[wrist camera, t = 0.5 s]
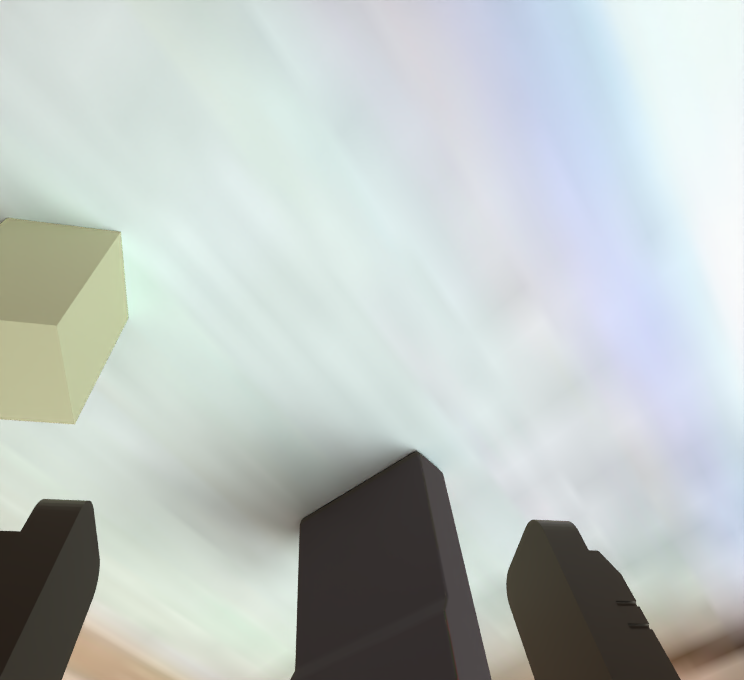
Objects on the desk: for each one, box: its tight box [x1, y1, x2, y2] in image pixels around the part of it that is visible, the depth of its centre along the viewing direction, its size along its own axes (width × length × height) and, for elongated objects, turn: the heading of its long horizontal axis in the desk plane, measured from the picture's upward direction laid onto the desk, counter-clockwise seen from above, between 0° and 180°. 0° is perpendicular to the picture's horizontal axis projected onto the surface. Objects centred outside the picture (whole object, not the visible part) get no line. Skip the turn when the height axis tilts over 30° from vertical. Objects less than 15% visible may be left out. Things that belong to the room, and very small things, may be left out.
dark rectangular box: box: [290, 452, 491, 680], centre depth 33 cm, size 11×4×15 cm, turn 129°
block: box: [0, 218, 128, 424], centre depth 24 cm, size 5×5×8 cm
